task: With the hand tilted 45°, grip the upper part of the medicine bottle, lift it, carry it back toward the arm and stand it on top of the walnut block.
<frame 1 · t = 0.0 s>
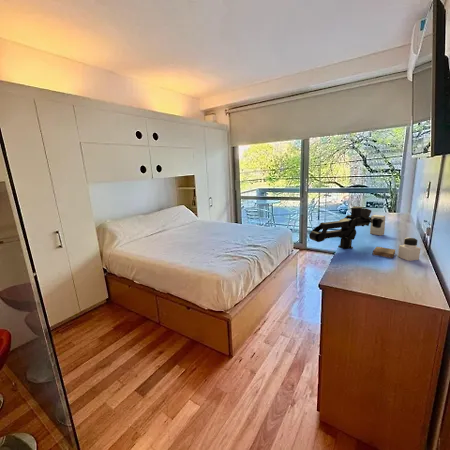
hand: (377, 219, 168), 17 cm above the table, tool horizontal, fingers open, 9 cm apart
skincare box: (376, 234, 191), on the table
walnut block: (383, 254, 150), on the table
medicine bottle: (408, 258, 142), on the table
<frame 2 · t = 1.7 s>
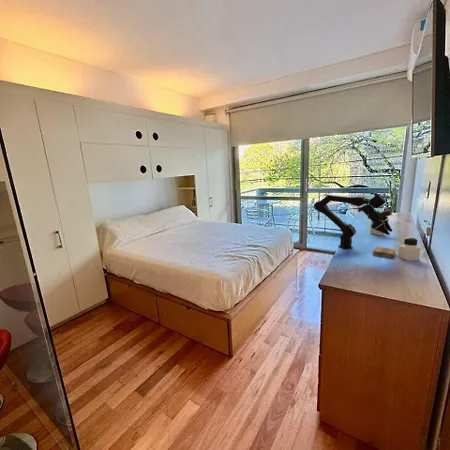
hand: (390, 233, 145), 14 cm above the table, tool tilted 45°, fingers open, 9 cm apart
nothing on the table moved.
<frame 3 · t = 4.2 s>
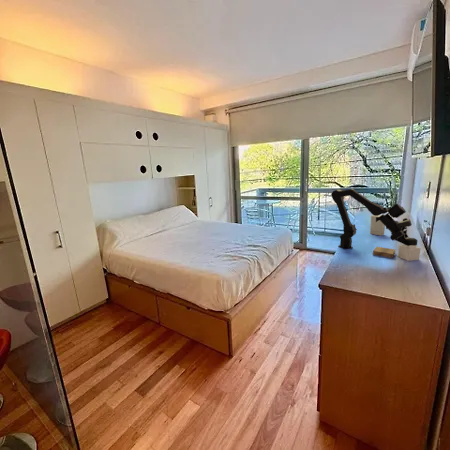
hand: (410, 244, 140), 9 cm above the table, tool tilted 45°, fingers closed on medicine bottle, 6 cm apart
medicine bottle: (408, 258, 142), on the table, touching gripper
everything else where it was.
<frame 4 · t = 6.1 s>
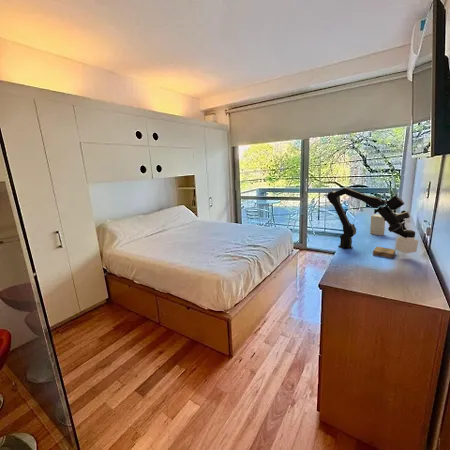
hand: (407, 236, 140), 13 cm above the table, tool tilted 45°, fingers closed on medicine bottle, 6 cm apart
medicine bottle: (405, 250, 142), point 4 cm above the table, touching gripper
everything else where it was.
when the fingers open (12 cm above the table, at t = 8.0 s): medicine bottle drops 2 cm, resting on walnut block.
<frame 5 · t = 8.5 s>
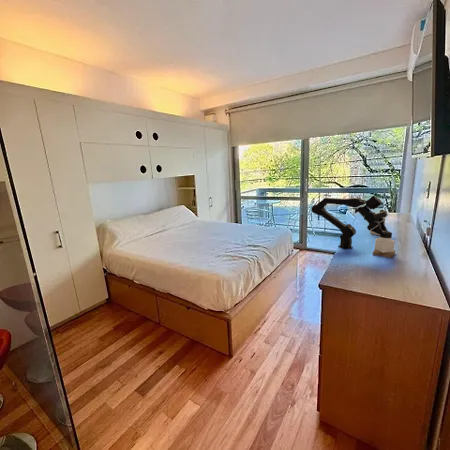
hand: (386, 234, 147), 13 cm above the table, tool tilted 45°, fingers open, 9 cm apart
walnut block: (383, 255, 150), on the table, touching medicine bottle
medicine bottle: (383, 250, 149), point 2 cm above the table, touching walnut block
everything else where it was.
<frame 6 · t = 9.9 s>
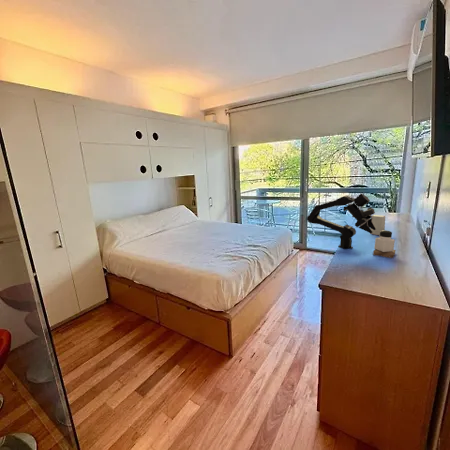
hand: (373, 231, 151), 13 cm above the table, tool tilted 45°, fingers open, 9 cm apart
nothing on the table moved.
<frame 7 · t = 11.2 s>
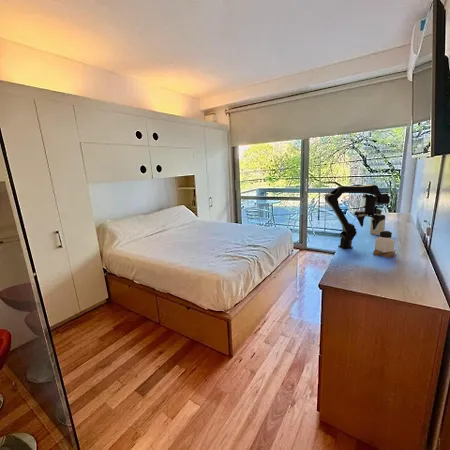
hand: (367, 228, 160), 13 cm above the table, tool pointing down, fingers open, 9 cm apart
nothing on the table moved.
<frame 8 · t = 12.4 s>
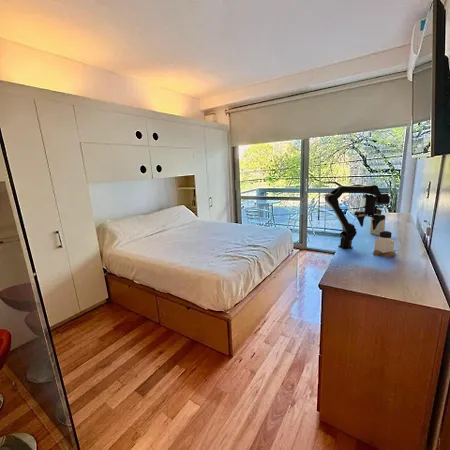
hand: (367, 228, 160), 13 cm above the table, tool pointing down, fingers open, 9 cm apart
nothing on the table moved.
at the end: medicine bottle 0.7 cm off-centre on the walnut block, point 2.8 cm above the walnut block's base; medicine bottle tilted 1°; the gripper is holding nothing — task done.
